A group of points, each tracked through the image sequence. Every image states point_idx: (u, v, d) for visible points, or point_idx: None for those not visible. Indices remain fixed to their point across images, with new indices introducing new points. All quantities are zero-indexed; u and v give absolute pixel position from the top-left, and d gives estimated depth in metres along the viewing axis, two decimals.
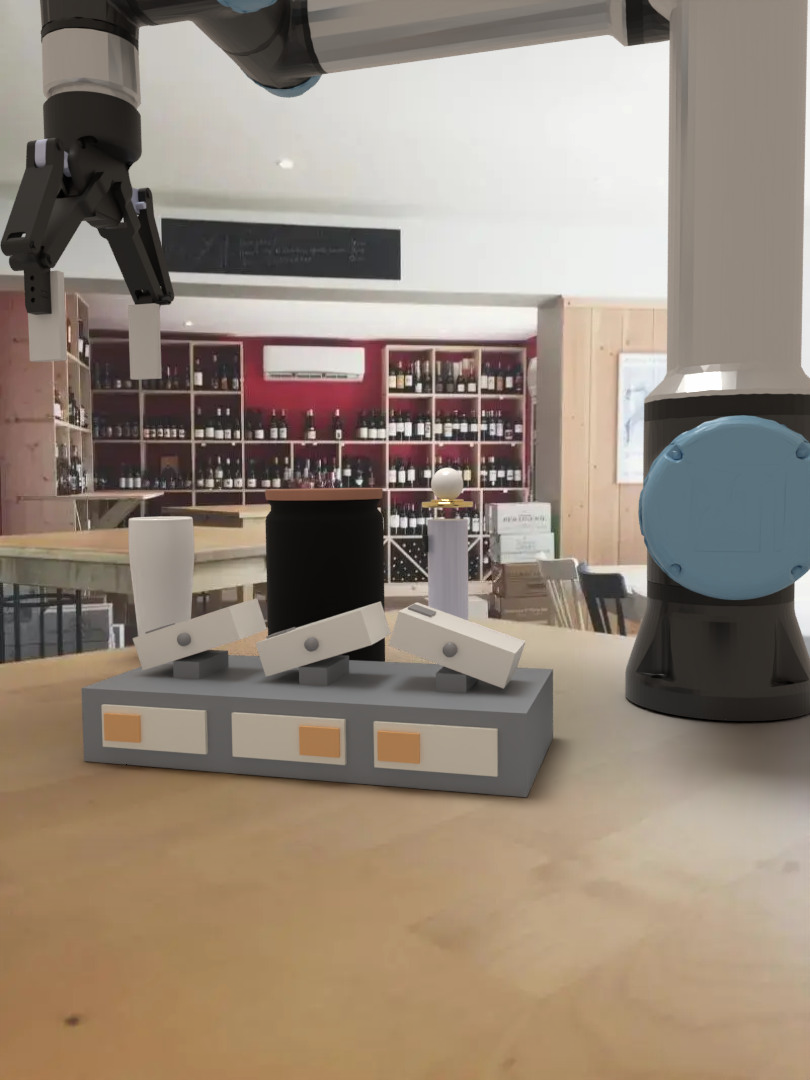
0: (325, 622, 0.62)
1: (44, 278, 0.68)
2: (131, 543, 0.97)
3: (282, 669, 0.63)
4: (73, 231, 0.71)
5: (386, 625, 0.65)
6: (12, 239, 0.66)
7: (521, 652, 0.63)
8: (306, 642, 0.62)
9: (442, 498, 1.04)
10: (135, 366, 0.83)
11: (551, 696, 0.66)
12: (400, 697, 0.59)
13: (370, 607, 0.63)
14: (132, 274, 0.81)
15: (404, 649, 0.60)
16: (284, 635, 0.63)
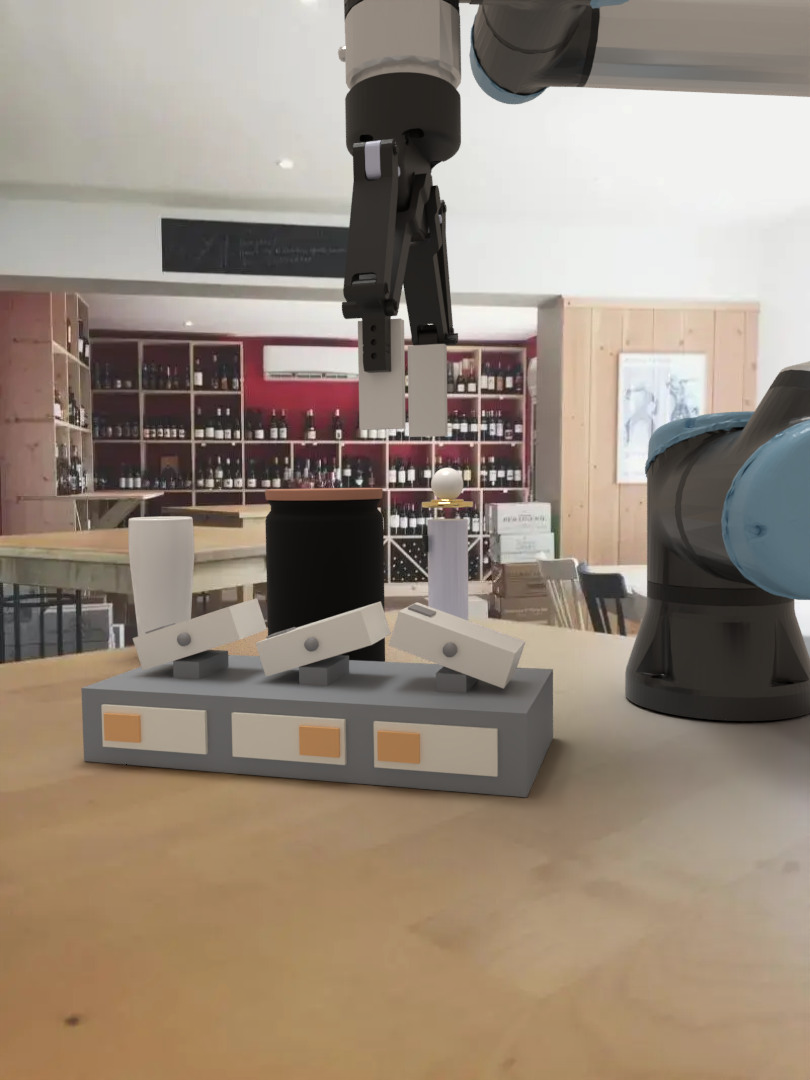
0: (325, 622, 0.62)
1: (387, 328, 0.55)
2: (131, 543, 0.97)
3: (282, 669, 0.63)
4: (406, 260, 0.57)
5: (386, 625, 0.65)
6: (359, 281, 0.53)
7: (521, 652, 0.63)
8: (306, 642, 0.62)
9: (442, 498, 1.04)
10: (416, 421, 0.67)
11: (551, 696, 0.66)
12: (400, 697, 0.59)
13: (370, 607, 0.63)
14: (420, 304, 0.66)
15: (404, 649, 0.60)
16: (284, 635, 0.63)
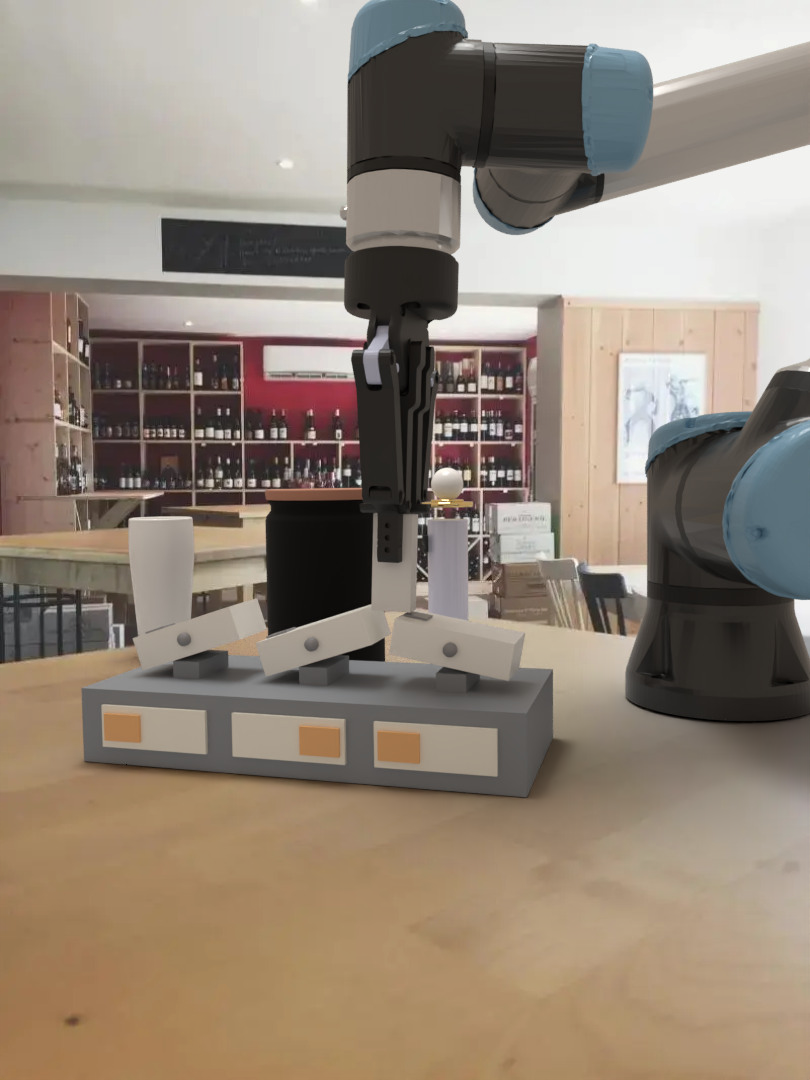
0: (325, 622, 0.62)
1: (400, 525, 0.61)
2: (131, 543, 0.97)
3: (282, 669, 0.63)
4: (411, 444, 0.61)
5: (386, 625, 0.65)
6: (376, 488, 0.59)
7: (522, 644, 0.63)
8: (306, 642, 0.62)
9: (442, 498, 1.04)
10: None
11: (551, 696, 0.66)
12: (400, 697, 0.59)
13: (370, 607, 0.63)
14: None
15: (405, 656, 0.61)
16: (284, 635, 0.63)
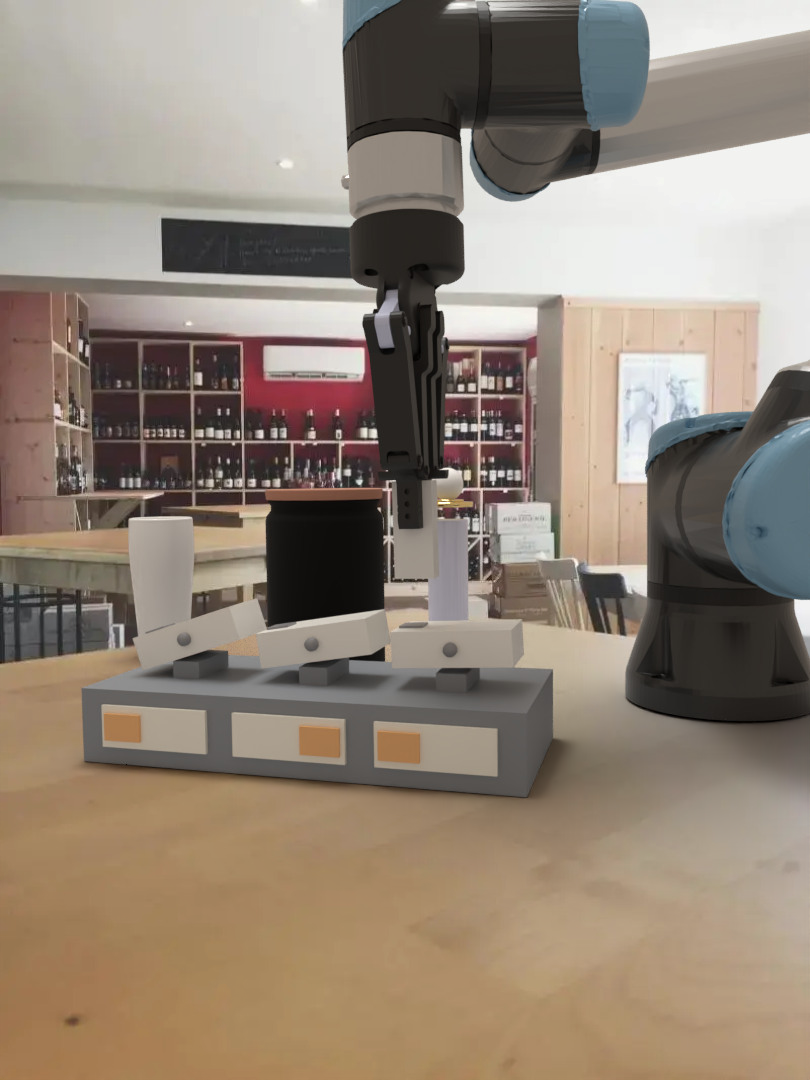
0: (328, 624, 0.62)
1: (419, 490, 0.61)
2: (131, 543, 0.97)
3: (278, 664, 0.63)
4: (426, 409, 0.61)
5: (387, 634, 0.65)
6: (394, 454, 0.59)
7: (521, 631, 0.62)
8: (306, 641, 0.62)
9: (442, 498, 1.04)
10: None
11: (551, 696, 0.66)
12: (400, 697, 0.59)
13: (374, 615, 0.63)
14: None
15: (408, 666, 0.61)
16: (285, 631, 0.63)
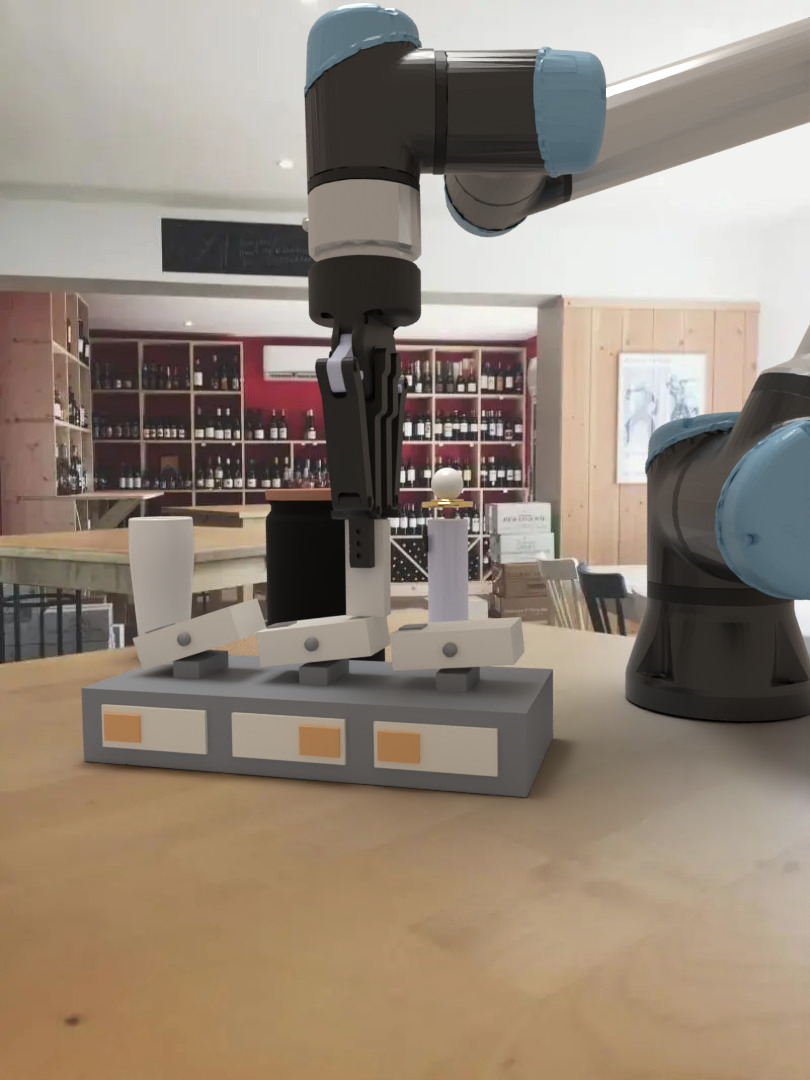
0: (329, 625, 0.62)
1: (371, 530, 0.61)
2: (131, 543, 0.97)
3: (277, 663, 0.63)
4: (380, 450, 0.61)
5: (387, 635, 0.65)
6: (346, 495, 0.60)
7: (521, 628, 0.62)
8: (306, 641, 0.62)
9: (442, 498, 1.04)
10: None
11: (551, 696, 0.66)
12: (400, 697, 0.59)
13: (375, 617, 0.63)
14: None
15: (409, 667, 0.60)
16: (286, 630, 0.63)
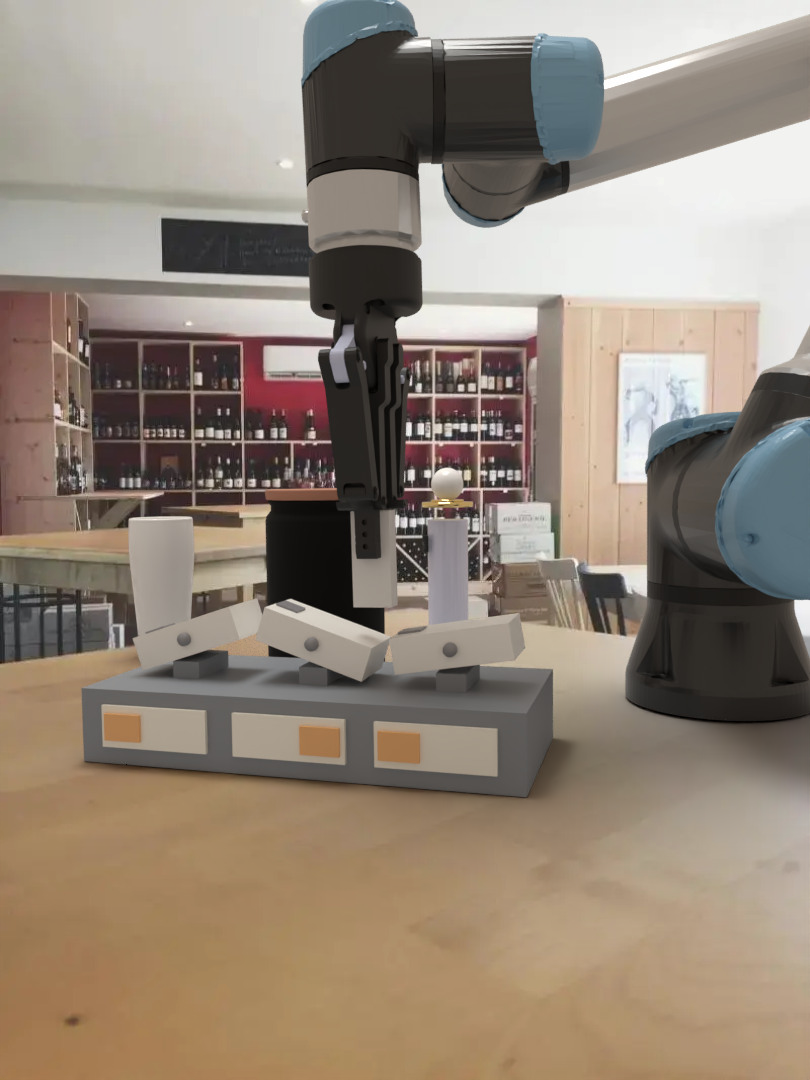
0: (335, 635, 0.62)
1: (377, 521, 0.61)
2: (131, 543, 0.97)
3: (272, 644, 0.63)
4: (384, 441, 0.61)
5: (382, 660, 0.65)
6: (351, 486, 0.59)
7: (520, 624, 0.62)
8: (308, 640, 0.62)
9: (442, 498, 1.04)
10: None
11: (551, 696, 0.66)
12: (400, 697, 0.59)
13: (380, 644, 0.63)
14: None
15: (410, 670, 0.60)
16: (293, 619, 0.63)
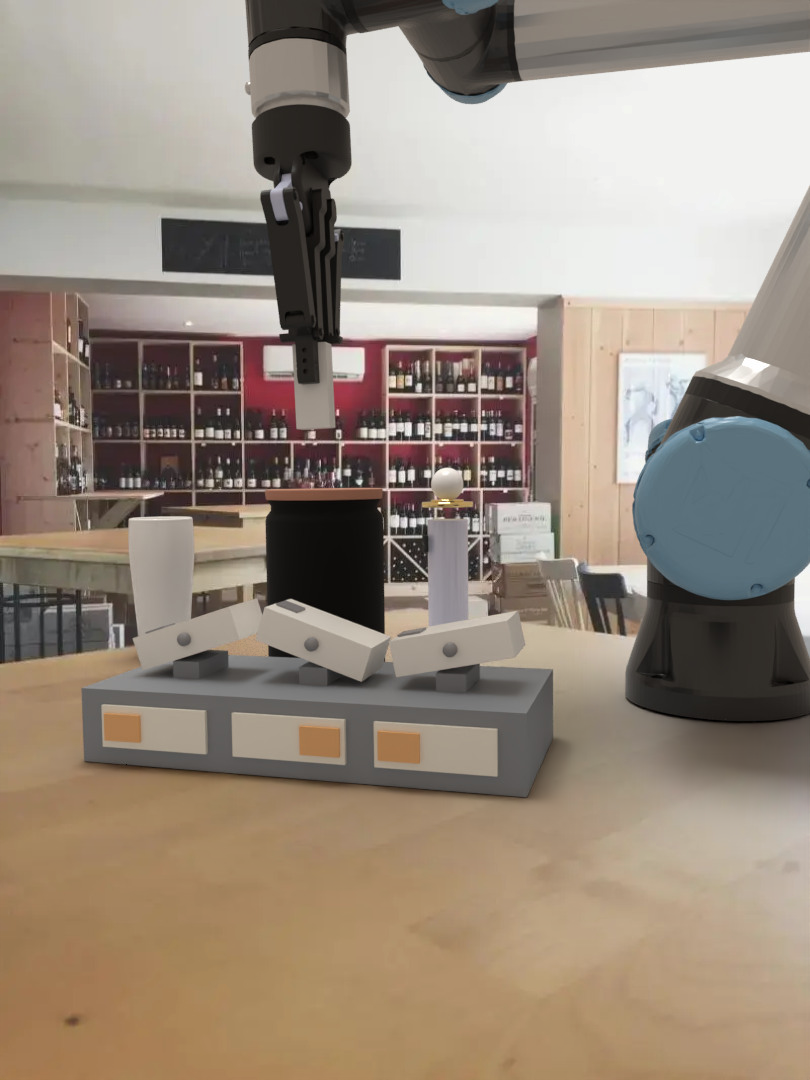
0: (335, 635, 0.62)
1: (315, 350, 0.71)
2: (131, 543, 0.97)
3: (272, 644, 0.63)
4: (320, 280, 0.71)
5: (382, 660, 0.65)
6: (291, 314, 0.69)
7: (519, 622, 0.62)
8: (308, 640, 0.62)
9: (442, 498, 1.04)
10: None
11: (551, 696, 0.66)
12: (400, 697, 0.59)
13: (380, 644, 0.63)
14: None
15: (411, 672, 0.60)
16: (293, 619, 0.63)
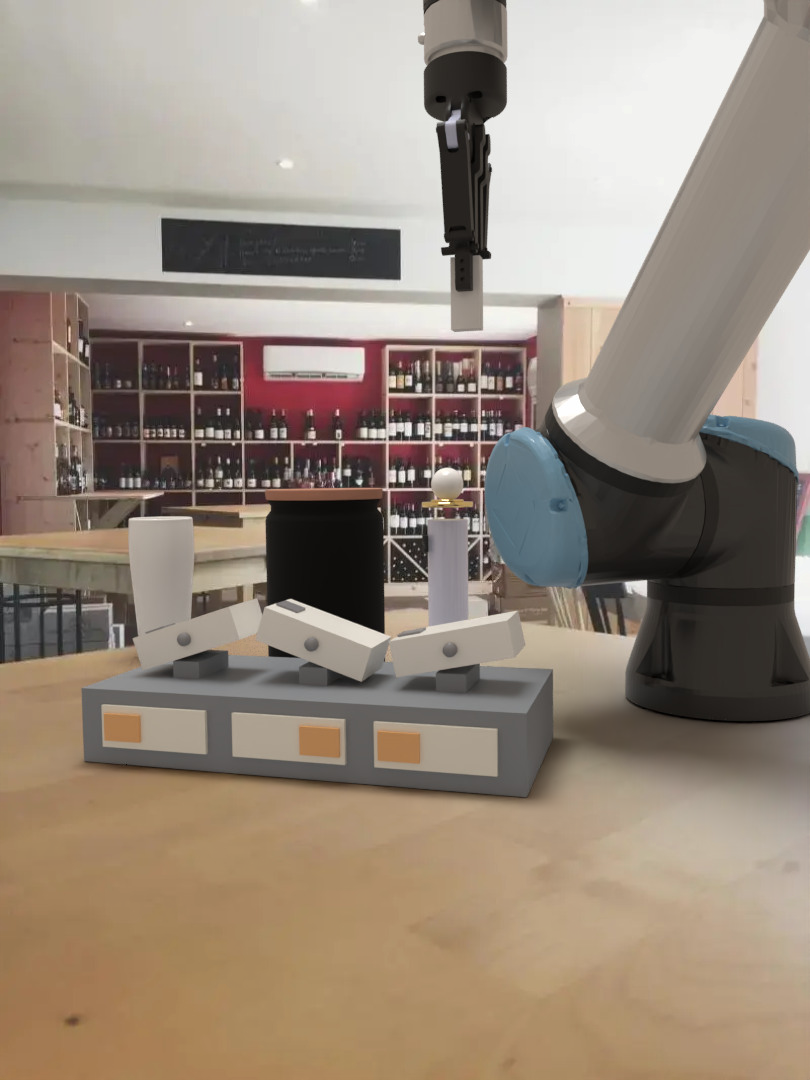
0: (335, 635, 0.62)
1: (471, 261, 0.84)
2: (131, 543, 0.97)
3: (272, 644, 0.63)
4: (477, 202, 0.84)
5: (382, 660, 0.65)
6: (455, 229, 0.82)
7: (519, 622, 0.62)
8: (308, 640, 0.62)
9: (442, 498, 1.04)
10: None
11: (551, 696, 0.66)
12: (400, 697, 0.59)
13: (380, 644, 0.63)
14: None
15: (411, 672, 0.60)
16: (293, 619, 0.63)
